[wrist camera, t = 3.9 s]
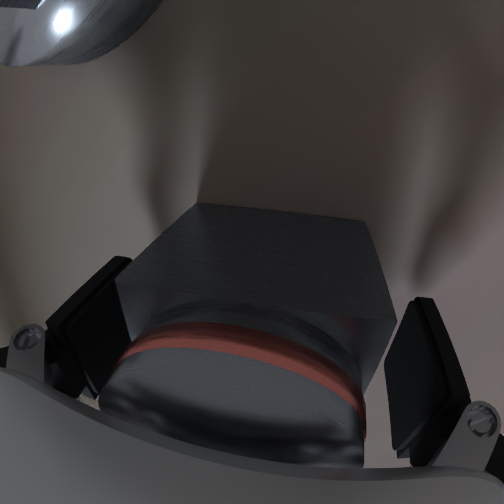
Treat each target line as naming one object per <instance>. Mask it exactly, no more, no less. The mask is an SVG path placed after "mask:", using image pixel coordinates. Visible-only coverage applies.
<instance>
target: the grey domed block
mask: <svg viewBox="0 0 504 504" xmlns="http://www.w3.org/2000/svg"><path fill="white" fill-rule="evenodd" d="M115 282H116V286H117V291H118V295H119V299H120V302H121V306H122V310H123V314H124V317H125V321H126V324H127V328H128V331H129V335H130V338H131V341H132V342H131V343H130V344H129V346H128V347H127V348H126V350H125V351H124V353H123V354H122V356H121V357H120V359H119V360H118V361H117V363H116V365H115V366H114V368H113V371H112V375H111V376H110V378H109V379H108V381H107V382H106V384H105V385H104V387H103V388H102V390H101V392H100V393H99V399H98V402H99V408H100V411H101V412H104V413H106V414H108V415H110V416H113V417H115V418H118V419H120V420H123V421H125V422H128V423H130V424H133V425H135V426H138V427H141V428H144V429H146V430H149V431H152V432H155V433H158V434H161V435H164V436H167V437H170V438H173V439H176V440H180V441H183V442H186V443H190V444H194V445H197V446H201V447H205V448H209V449H213V450H217V451H221V452H226V453H230V454H235V455H240V456H245V457H250V458H256V459H262V460H268V461H274V462H282V463H289V464H298V465H308V466H320V467H336V468H363V465H364V441H365V438H366V405H365V401H364V397H363V395H364V393H365V391H366V389H367V387H368V385H369V383H370V381H371V379H372V377H373V375H374V373H375V371H376V369H377V367H378V365H379V362H380V360H381V358H382V356H383V354H384V352H385V349H386V347H387V345H388V343H389V340H390V338H391V336H392V333H393V331H394V328H395V326H396V323H397V318H396V314H395V311H394V307H393V304H392V300H391V297H390V294H389V290H388V287H387V284H386V281H385V277H384V274H383V271H382V268H381V265H380V262H379V259H378V256H377V253H376V251H375V248H374V245H373V242H372V239H371V237H370V234H369V231H368V228H367V226H366V223H365V222H361V221H354V220H347V219H339V218H332V217H324V216H316V215H308V214H300V213H291V212H283V211H274V210H264V209H255V208H245V207H234V206H224V205H212V204H201V203H196V204H194V205H193V206H192V207H191V208H190V209H189V210H187V211H186V212H185V213H184V214H183V215H182V216H181V217H180V218H178V219H177V220H176V221H175V222H174V223H173V224H172V225H171V226H170V227H168V228H167V229H166V230H165V231H164V232H163V233H162V234H161V235H160V236H159V237H158V238H156V239H155V240H154V241H153V242H152V243H151V244H150V245H149V246H148V247H147V248H146V249H145V250H144V251H143V252H142V253H140V254H139V255H138V256H137V257H136V258H135V259H134V260H133V261H132V262H131V263H130V264H129V265H128V266H127V267H126V268H125V269H124V270H123V271H122V272H121V273H120V274H119V275H118V276H117V277H116V278H115Z"/></svg>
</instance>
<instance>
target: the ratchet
mask: <svg viewBox="0 0 504 504" xmlns="http://www.w3.org/2000/svg"><path fill="white" fill-rule="evenodd" d="M162 1H163V0H0V63H1V64H3V65H6V66H12V67H16V66H30V65H70V64H80V63H85V62H88V61H91V60H94V59H96V58H98V57H100V56H102V55H104V54H106V53H108V52H109V51H111V50H113V49H114V48H116V47H117V46H119V45H120V44H121V43H123V42H124V41H125V40H127V39H128V38H129V37H130V36H131V35H132V34H133V33H135V32H136V31H137V30H138V29H139V28H140V27H141V26H142V25H143V24H144V23H145V22H146V21H147V20H148V19H149V17H150V16H151V15H152V14H153V13H154V11H155V10H156V9H157V8H158V6H159V5H160V4H161V2H162Z"/></svg>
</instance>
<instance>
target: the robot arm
mask: <svg viewBox="0 0 504 504" xmlns="http://www.w3.org/2000/svg"><path fill="white" fill-rule="evenodd" d="M131 262H132V259H131V258H128V257H122V256H115V257H113V258H112V259H111V260H110V261H109V262H108V263H107V264H106V265H104V266H103V267H102V268H101V269H100V270H99V271H98V272H97V273H96V274H94V275H93V276H92V277H91V278H90V279H89V280H88V281H87V282H86V283H85V284H84V285H83V286H82V287H80V288H79V289H78V290H77V291H76V292H75V293H74V294H73V295H72V296H71V297H70V298H69V299H68V300H67V301H66V302H65V303H64V304H63V305H62V306H61V307H60V308H59V309H58V310H57V311H56V312H55V313H54V314H53V315H52V316H51V317H50V318H49V319H48V320H47V321H46V322H45V323H46V325H47V327H48V329H47V330H46V331H45V330H44V329H43V327H41V326H40V325H37V324H29V325H26V326H23V327H21V328H20V329H18V330H17V331H16V332H15V333H14V334H13V336H12V337H11V340H10V343H9V346H8V347H4V348H0V504H504V436H503V435H502V434H500V430H501V419H500V416H499V413H498V412H497V410H496V409H495V408H494V407H493V406H492V405H491V404H489V403H487V402H484V401H474V402H472V403H471V399H470V393H469V390H468V387H467V384H466V381H465V378H464V375H463V372H462V369H461V366H460V363H459V361H458V358H457V355H456V353H455V350H454V347H453V345H452V342H451V340H450V337H449V335H448V332H447V330H446V327H445V325H444V323H443V320H442V318H441V316H440V313H439V311H438V309H437V307H436V304H435V302H434V300H433V299H432V298H424V297H416V298H415V299H414V301H410V302H409V304H408V306H407V309H406V311H405V314H404V316H403V319H402V321H401V324H400V326H399V328H398V331H397V333H396V335H395V338H394V340H393V342H392V344H391V347H390V349H389V351H388V353H387V355H386V358H385V361H384V371H385V378H386V386H387V394H388V403H389V412H390V423H391V436H392V447H393V449H394V450H397V458H410V464H411V466H410V467H403V468H336V467H320V466H308V465H298V464H289V463H282V462H274V461H268V460H262V459H256V458H250V457H245V456H240V455H235V454H230V453H226V452H221V451H217V450H213V449H209V448H205V447H201V446H197V445H194V444H190V443H186V442H183V441H180V440H176V439H173V438H170V437H167V436H164V435H161V434H158V433H155V432H152V431H149V430H146V429H144V428H141V427H138V426H135V425H133V424H130V423H128V422H125V421H123V420H120V419H118V418H115V417H113V416H110V415H108V414H106V413H104V412H101V411H99V410H97V409H95V408H92V407H90V406H88V405H86V404H84V403H82V402H80V400H79V395H80V394H81V393H83V395H85V396H87V397H89V398H91V399H93V400H95V399H96V398H97V396H98V395H99V393H100V392H101V390H102V388H103V387H104V385H105V384H106V382H107V381H108V379H109V378H110V376H111V375H112V371H113V368H114V366H115V365H116V363H117V361H118V360H119V359H120V357H121V356H122V354H123V353H124V351H125V350H126V348H127V347H128V346H129V344H130V343H131V342H132V341H131V338H130V335H129V331H128V328H127V324H126V321H125V317H124V314H123V310H122V306H121V302H120V299H119V295H118V291H117V286H116V282H115V278H116V277H117V276H118V275H119V274H120V273H121V272H122V271H123V270H124V269H125V268H126V267H127V266H128V265H129V264H130V263H131Z"/></svg>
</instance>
